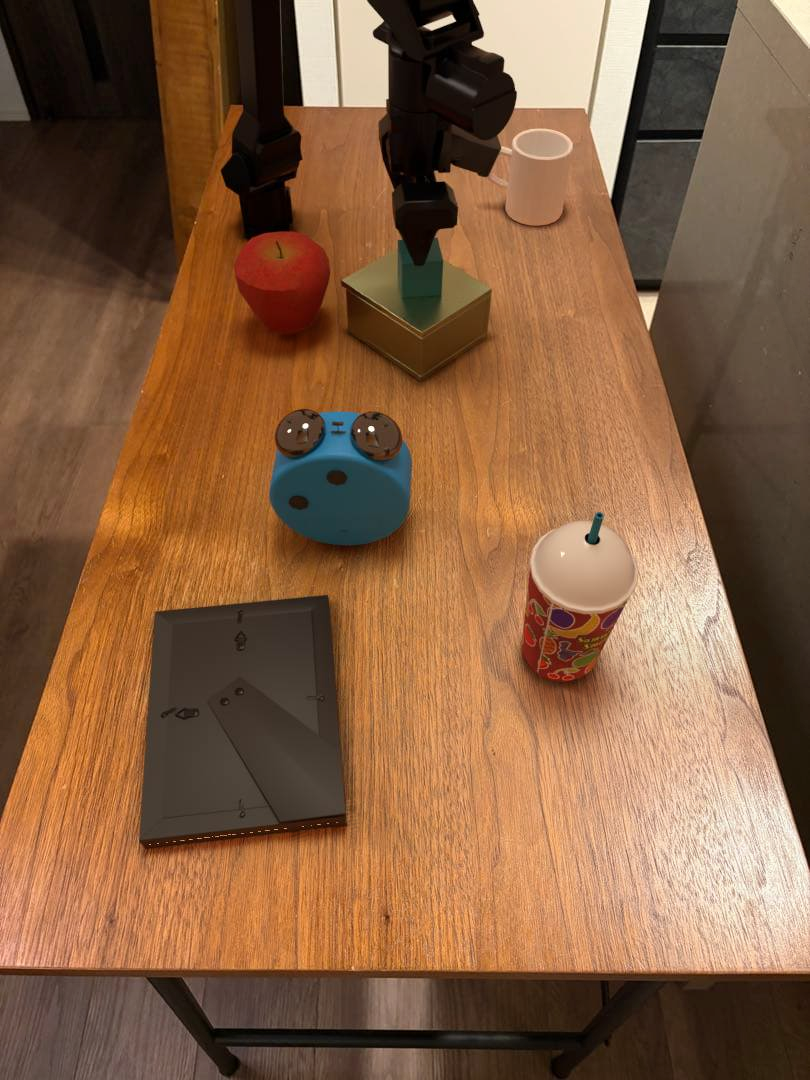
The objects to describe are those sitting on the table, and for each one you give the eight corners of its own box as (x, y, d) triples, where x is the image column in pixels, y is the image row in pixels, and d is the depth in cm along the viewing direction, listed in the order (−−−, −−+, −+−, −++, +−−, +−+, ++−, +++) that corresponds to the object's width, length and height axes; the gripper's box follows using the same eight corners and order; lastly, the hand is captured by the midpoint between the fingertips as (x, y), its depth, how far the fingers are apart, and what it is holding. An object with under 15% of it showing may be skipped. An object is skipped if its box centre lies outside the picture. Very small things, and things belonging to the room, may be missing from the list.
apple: (278, 368, 100) (266, 281, 90) (227, 324, 105) (210, 237, 95) (351, 329, 104) (347, 242, 95) (299, 289, 109) (289, 202, 100)
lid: (340, 285, 99) (340, 279, 99) (410, 245, 104) (410, 240, 104) (422, 338, 94) (422, 332, 93) (491, 293, 99) (492, 287, 98)
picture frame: (347, 825, 67) (329, 606, 80) (345, 813, 65) (327, 590, 77) (145, 849, 66) (159, 623, 78) (136, 837, 63) (152, 606, 76)
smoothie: (579, 713, 73) (630, 581, 57) (494, 667, 76) (521, 529, 60) (618, 642, 77) (675, 501, 62) (536, 601, 80) (571, 456, 64)
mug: (478, 191, 124) (484, 124, 116) (561, 196, 123) (572, 129, 115) (476, 222, 119) (482, 154, 111) (562, 228, 118) (573, 160, 110)
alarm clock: (411, 505, 87) (413, 397, 75) (408, 552, 83) (410, 447, 72) (284, 500, 87) (267, 391, 76) (276, 547, 84) (257, 441, 72)
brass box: (348, 332, 104) (345, 288, 99) (414, 291, 109) (415, 248, 104) (420, 381, 99) (422, 338, 94) (487, 337, 104) (491, 294, 99)
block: (401, 298, 97) (402, 263, 93) (397, 274, 99) (397, 239, 96) (441, 295, 97) (443, 260, 93) (436, 271, 100) (437, 237, 96)
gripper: (517, 144, 78) (499, 287, 90) (482, 53, 89) (471, 192, 101) (396, 149, 77) (395, 293, 89) (377, 57, 88) (379, 196, 100)
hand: (414, 240), depth 95 cm, fingers open, 9 cm apart
